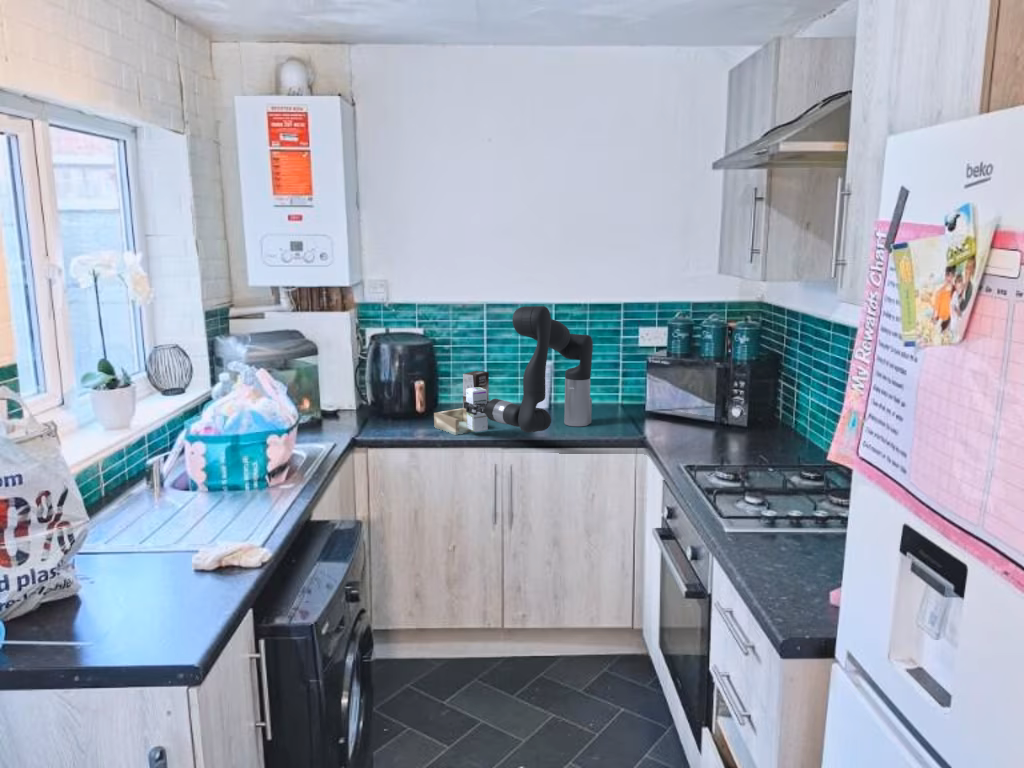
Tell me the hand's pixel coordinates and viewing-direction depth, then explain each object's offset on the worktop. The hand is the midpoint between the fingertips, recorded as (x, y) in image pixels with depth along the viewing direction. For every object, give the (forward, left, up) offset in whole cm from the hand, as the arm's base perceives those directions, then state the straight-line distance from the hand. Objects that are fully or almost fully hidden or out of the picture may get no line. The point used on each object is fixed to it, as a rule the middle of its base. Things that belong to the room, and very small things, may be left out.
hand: (472, 403), depth 267 cm
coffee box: (-19, -24, -11) cm, 33 cm away
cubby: (0, -8, -11) cm, 13 cm away
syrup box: (0, +2, -9) cm, 9 cm away
